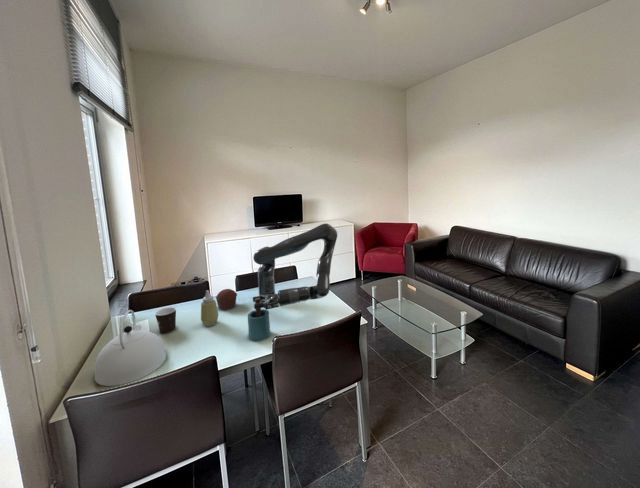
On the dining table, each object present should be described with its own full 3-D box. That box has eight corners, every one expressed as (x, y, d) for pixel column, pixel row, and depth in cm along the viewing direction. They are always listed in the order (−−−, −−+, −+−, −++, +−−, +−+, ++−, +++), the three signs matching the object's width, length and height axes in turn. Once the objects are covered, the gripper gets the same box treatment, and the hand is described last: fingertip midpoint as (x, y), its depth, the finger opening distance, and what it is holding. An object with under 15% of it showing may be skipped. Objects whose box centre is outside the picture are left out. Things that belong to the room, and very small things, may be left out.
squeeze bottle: (211, 328, 150) (208, 294, 147) (197, 327, 151) (194, 293, 149) (222, 320, 157) (219, 288, 155) (209, 319, 159) (206, 287, 157)
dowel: (254, 333, 144) (252, 297, 141) (264, 330, 146) (262, 295, 143) (255, 337, 140) (252, 301, 137) (265, 335, 142) (263, 299, 139)
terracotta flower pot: (239, 307, 172) (238, 291, 171) (218, 313, 166) (217, 296, 164) (235, 300, 182) (234, 285, 180) (215, 305, 176) (213, 289, 174)
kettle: (109, 354, 129) (102, 305, 126) (171, 341, 138) (166, 295, 135) (84, 393, 106) (75, 334, 103) (160, 374, 116) (154, 320, 113)
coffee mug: (159, 327, 151) (157, 309, 149) (179, 324, 154) (177, 305, 153) (153, 339, 140) (151, 319, 139) (175, 335, 144) (173, 315, 142)
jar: (248, 333, 145) (247, 311, 144) (268, 328, 149) (267, 307, 148) (249, 342, 137) (248, 320, 135) (271, 337, 141) (269, 316, 139)
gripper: (285, 284, 153) (251, 290, 146) (291, 294, 140) (254, 301, 133) (286, 298, 154) (252, 304, 147) (291, 309, 141) (255, 317, 134)
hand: (253, 303), depth 140 cm, fingers open, 8 cm apart
